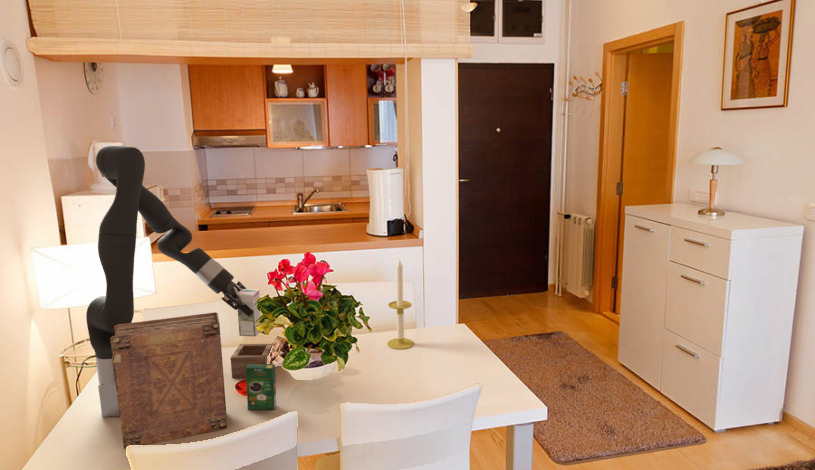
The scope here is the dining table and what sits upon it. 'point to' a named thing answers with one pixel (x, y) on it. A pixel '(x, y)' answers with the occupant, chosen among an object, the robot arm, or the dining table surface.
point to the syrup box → (250, 322)
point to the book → (169, 378)
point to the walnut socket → (248, 357)
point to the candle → (400, 314)
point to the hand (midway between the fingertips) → (254, 310)
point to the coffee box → (261, 386)
